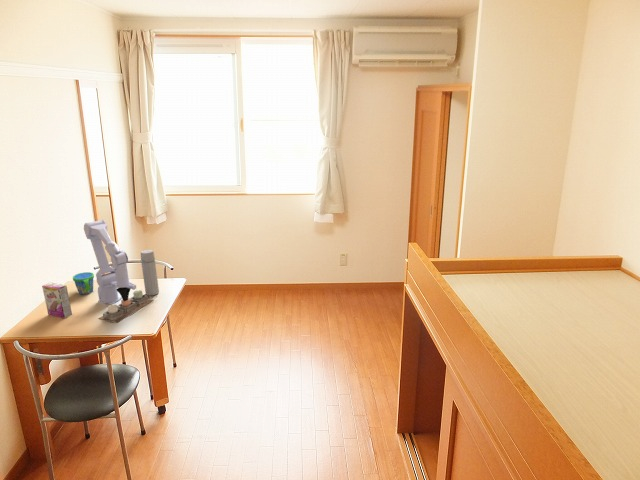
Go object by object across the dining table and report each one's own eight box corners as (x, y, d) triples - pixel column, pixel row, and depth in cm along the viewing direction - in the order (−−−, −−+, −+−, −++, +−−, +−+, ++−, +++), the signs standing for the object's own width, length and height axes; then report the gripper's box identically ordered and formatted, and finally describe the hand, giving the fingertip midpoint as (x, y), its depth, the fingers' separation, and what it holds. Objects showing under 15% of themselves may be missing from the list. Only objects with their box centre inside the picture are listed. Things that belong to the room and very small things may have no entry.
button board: (98, 318, 224) (97, 313, 223) (135, 297, 247) (134, 292, 246) (117, 322, 220) (116, 317, 219) (153, 300, 243) (152, 295, 242)
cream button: (106, 314, 223) (105, 307, 222) (113, 310, 227) (112, 303, 226) (113, 315, 222) (112, 308, 221) (120, 312, 226) (119, 305, 225)
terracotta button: (120, 307, 232) (119, 301, 230) (126, 304, 236) (125, 297, 234) (127, 309, 230) (126, 302, 229) (133, 305, 234) (132, 298, 233)
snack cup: (98, 294, 251) (95, 278, 248) (77, 299, 246) (73, 282, 243) (94, 285, 264) (91, 269, 260) (74, 289, 258) (71, 273, 255)
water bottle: (162, 292, 254) (157, 250, 246) (150, 297, 247) (145, 254, 240) (151, 288, 258) (146, 247, 251) (140, 293, 252) (134, 251, 244)
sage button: (132, 299, 240) (131, 293, 238) (138, 296, 243) (137, 290, 242) (139, 300, 238) (138, 294, 237) (144, 297, 242) (143, 291, 241)
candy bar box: (47, 315, 228) (41, 285, 223) (56, 311, 232) (50, 282, 227) (64, 318, 224) (58, 288, 219) (72, 314, 229) (67, 284, 224)
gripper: (104, 276, 226) (108, 301, 230) (127, 280, 222) (131, 305, 226) (115, 271, 233) (118, 295, 237) (137, 275, 228) (141, 299, 232)
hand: (125, 300), depth 232 cm, fingers closed, pressing on terracotta button
